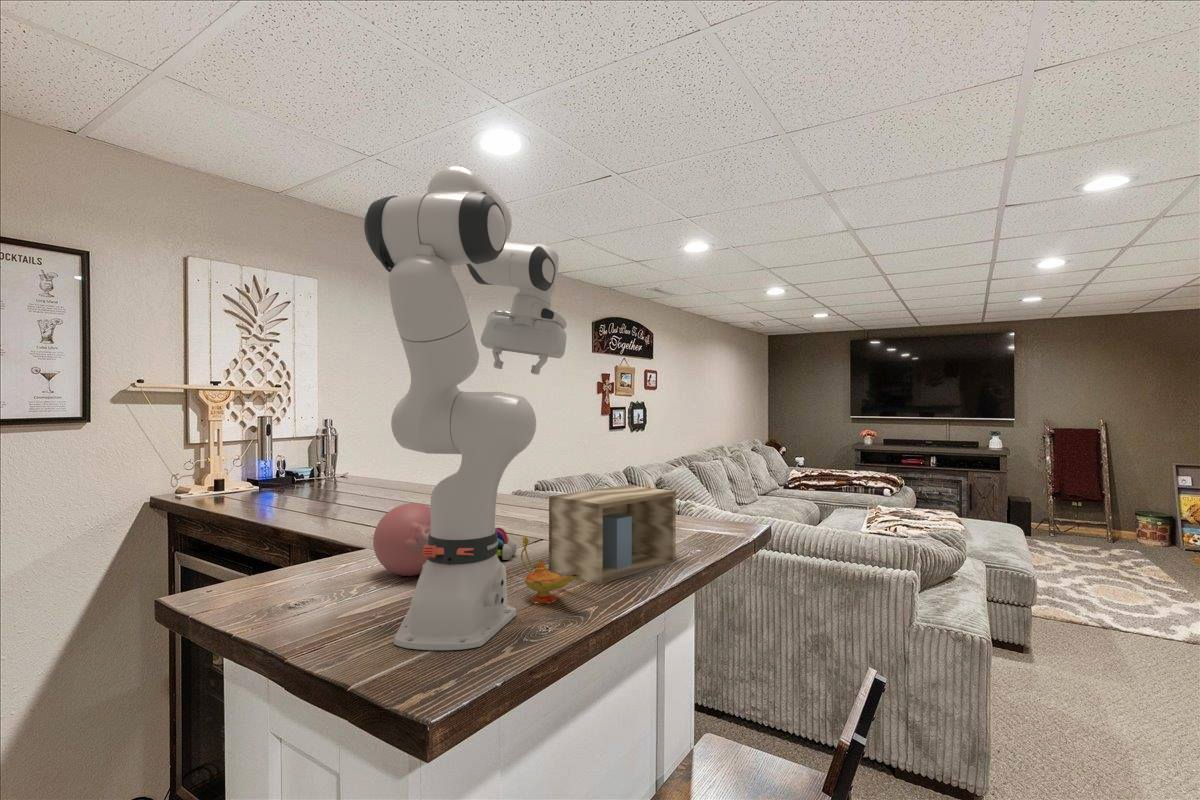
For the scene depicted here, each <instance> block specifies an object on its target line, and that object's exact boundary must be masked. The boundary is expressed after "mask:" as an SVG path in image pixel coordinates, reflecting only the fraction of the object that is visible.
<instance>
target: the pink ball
mask: <svg viewBox="0 0 1200 800" xmlns="http://www.w3.org/2000/svg"><path fill="white" fill-rule="evenodd" d="M429 534H431V506H428V505H426V504H422V503H417V502H408V503H404V504H401V505H397V506H395V507H393V508H392V509H391V510H390V509H389V511H388V512H387V513H385V514H384V515H383V516H382V517H381V518H380V520H379V522H378V523H377V525H376V527H375V530H374V533H373V539H372V540H373V541H372V542H373V544H372V545H373V551H374V554H375V556H376V558H377V560H378V562H379V563H380V564H381V565H382V566H383V568H385V569H386V570H387V571H389V572H391V573H393V574H395V575H399V576H403V577H412V576H418V575H420V574H421V571H422V568H423V565H424V564H425V563H426V561H427V559H426V558H424V557H423V549H424V548H423V547H424V546H425V545H427V542H428V536H429Z"/></svg>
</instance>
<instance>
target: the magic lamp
mask: <svg viewBox="0 0 1200 800" xmlns="http://www.w3.org/2000/svg"><path fill="white" fill-rule="evenodd" d="M529 542H530V541H529V538H528V537H527V536H525V535H523V537H522V547H523V549H522V551H521V553H520V560H521V561H522V563H523V565H524V566H525V568H526V569H527V571H528V572H529V574H527V575H526V576H525V578H524V582H525V584H526V586H527V587H528V589H531V590H532V591H535V592H537V593H536V594H535V595H533V596H531V597H530V598H531V601H533V602H538V603H548V602H552V601H554V600H555V599H556V598H557V597H556V596H554V595H552V594H551V593H550V592H552V591H556V590H559V589H561V588H563V587H566V586H567V585H568V584H570V583H571V581H572V580H574V579H576V578H575V577H580V576H581V575H580V574H575V575H570V576H567V575H565V576H564V577H563V576H562V574H560V573H557V572H553V571H550V570H549V568H547V566H546V565H545V564H544V561H543V559H538V562H536V563H535V565H534V566H533V565H532V563H531V561H530V559H529V555H528V551H527V547H528V545H529ZM524 552H525V555H526V559H527V562H528V564H529V566H530V567H531V568H533V569H534V571H532V570H531V569H530V567H528V565H527V563H526V562H525V560H524V557H523V555H524ZM531 601H530V602H531ZM548 604H549V603H548Z"/></svg>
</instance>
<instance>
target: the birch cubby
mask: <svg viewBox="0 0 1200 800" xmlns="http://www.w3.org/2000/svg"><path fill="white" fill-rule="evenodd" d="M676 494H677V493H676V490H670V489H661V488H654V487H645V486H637V485H631V484H630V485H628V484H624V485H618V486H612V487H603V488H597V489H590V490H584V491H577V492H570V493H561V494H554V495H549V496H548V571H549V572H554V573H557V574H559V575H565V576H570V575H575V574H580V575H581V576H580V577H575V578H574V579H579V580H581V581H585V582H588V583H593V584H596V585H603V584H606V583H607V582H611V581H615V580H617V579H618V580H619V579H621V578H624V577H627V576H630V575H634V574H636V573H639V572H642V571H646V570H649V569H652V568H653V569H654V568H655V567H658V566H662V565H666V564H668V563H671V562H674V561H676V559H677V558H676V555H677V552H676V551H677V550H676V549H677V548H676V547H677V546H676V543H677V542H676V541H677V540H676V539H677V537H676V536H677V535H676V529H677V528H676V526H677V525H676V522H677V521H676V520H677V519H676V516H677V515H676V514H677V512H676V509H677V506H676V505H677V504H676V503H677V499H676V498H677V497H676V496H677V495H676ZM614 513H616V514H622V515H628V516H632V565H631V566H627V567H624V568H621V569H613V568H609V567H605V566H603V516H604V515H609V514H614Z"/></svg>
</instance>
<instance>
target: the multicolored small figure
mask: <svg viewBox="0 0 1200 800" xmlns="http://www.w3.org/2000/svg"><path fill="white" fill-rule="evenodd" d="M495 531H496V532H497V538H498V552H497V553H496V555H497V557H502V561H503V560H507V561H509V560H510V559H511V558H512V557H513V556H514V555H515V554H516V553H517V544H516V542H515V541H514V540H511V539H509V536H508V535H507V532H506V530H504V528H501V527H495ZM512 555H513V556H512Z"/></svg>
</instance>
